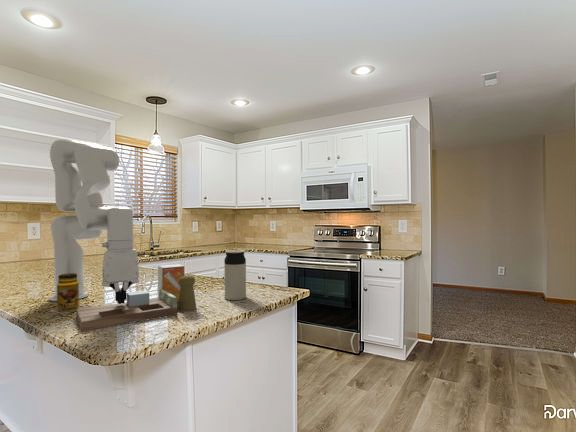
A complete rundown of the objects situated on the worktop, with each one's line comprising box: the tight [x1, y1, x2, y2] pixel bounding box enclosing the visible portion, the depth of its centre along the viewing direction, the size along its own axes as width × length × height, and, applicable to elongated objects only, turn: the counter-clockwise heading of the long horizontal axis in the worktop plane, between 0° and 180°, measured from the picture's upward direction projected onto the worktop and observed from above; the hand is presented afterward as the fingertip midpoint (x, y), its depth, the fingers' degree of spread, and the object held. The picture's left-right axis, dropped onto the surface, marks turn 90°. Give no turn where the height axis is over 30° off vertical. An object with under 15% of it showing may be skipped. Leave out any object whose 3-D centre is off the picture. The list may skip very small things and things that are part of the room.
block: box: [126, 289, 150, 306], centre depth 115 cm, size 5×6×4 cm
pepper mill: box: [177, 275, 197, 312], centre depth 117 cm, size 6×6×11 cm
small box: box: [157, 263, 185, 303], centre depth 128 cm, size 8×6×13 cm
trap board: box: [76, 289, 178, 332], centre depth 109 cm, size 16×26×6 cm, turn 125°
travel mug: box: [224, 249, 247, 301], centre depth 132 cm, size 8×8×18 cm
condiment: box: [47, 273, 86, 315], centre depth 117 cm, size 7×8×12 cm
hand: (120, 302), depth 112 cm, fingers closed
